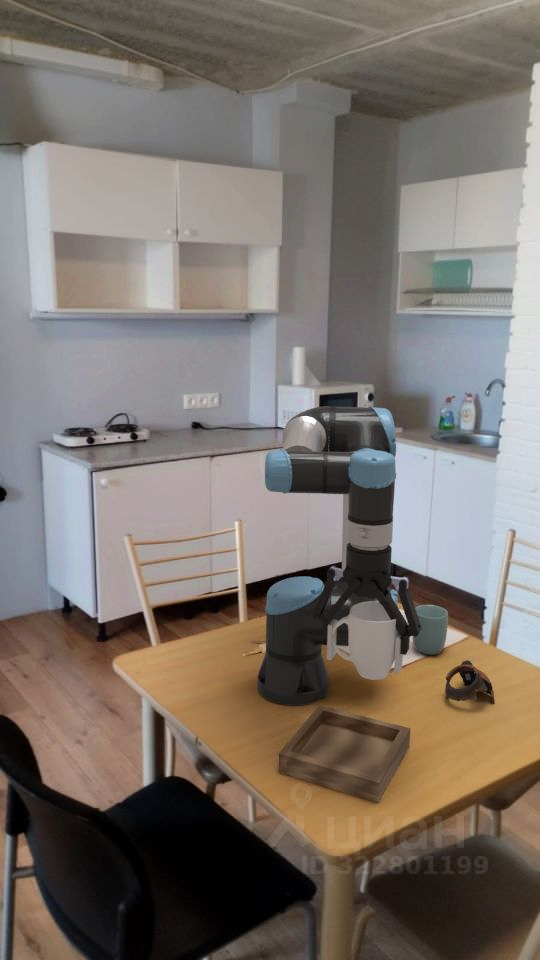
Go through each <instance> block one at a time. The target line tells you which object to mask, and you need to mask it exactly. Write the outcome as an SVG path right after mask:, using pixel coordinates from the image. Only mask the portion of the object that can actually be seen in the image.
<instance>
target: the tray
mask: <svg viewBox="0 0 540 960" xmlns="http://www.w3.org/2000/svg"><path fill="white" fill-rule="evenodd" d="M410 742H411V727H407V726H403V725H399V724H396V723H395V724H394V723H391V722H388V721H383V720H380V719H376V718H372V717H367V716H364V715H360V714H357V713H352V712H349V711H345V710H341V709H336V708H334V707H329V706H326V705H321V704H318V705H317V706H316V708H315V709H314V710H313V711H312V713H311V714H309V716H308V718H306V719H305V721H304V722H303V723H302V725H300V727H299V728H298V729H297V731H296V732H295V733H294V734H293V735H292V737H291V738H290V739H289V740H288V742H286V744H285V745H284V746H283V747H282V748H281V750H280V751H279V752H278V764H277V765H278V767H277V768H278V771H277V772H278V773H279V772H282V773H284V774H283V775H285V774H286V775H287V776H288V775H290V776H289V777H292V778H294V779H295V778H296V779H299V780H303V781H306V782H307V783H312V784H315V785H318V786H321V787H325V788H329V789H331V790H335V791H337V792H340V793H345V794H348V795H351V796H354V797H358V798H361V799H365V800H368V801H371V802H373V803H378V804H379V802H380V801H381V798H382V797H383V795H384V794H385V792H386V790H387V788H388V786H389V784H390V782H391V781H392V778H393V777H394V775H395V774H396V771H397V770H398V768H399V767H400V764H401V762H402V760H403V758H404V757H405V755H406V753H407V751H408V750H409V748H410V746H411V745H410ZM282 773H281V774H282Z"/></svg>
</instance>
